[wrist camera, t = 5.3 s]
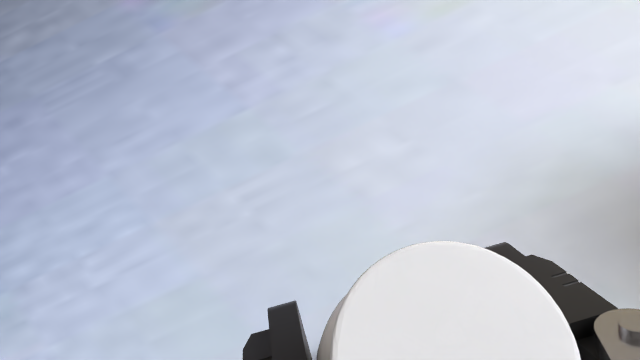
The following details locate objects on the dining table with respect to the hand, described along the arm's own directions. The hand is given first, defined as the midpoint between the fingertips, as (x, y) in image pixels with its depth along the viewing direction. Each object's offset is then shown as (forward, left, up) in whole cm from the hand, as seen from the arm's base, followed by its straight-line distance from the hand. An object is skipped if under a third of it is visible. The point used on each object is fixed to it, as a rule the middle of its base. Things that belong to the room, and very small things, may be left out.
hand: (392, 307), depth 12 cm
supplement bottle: (0, -2, -4) cm, 5 cm away
